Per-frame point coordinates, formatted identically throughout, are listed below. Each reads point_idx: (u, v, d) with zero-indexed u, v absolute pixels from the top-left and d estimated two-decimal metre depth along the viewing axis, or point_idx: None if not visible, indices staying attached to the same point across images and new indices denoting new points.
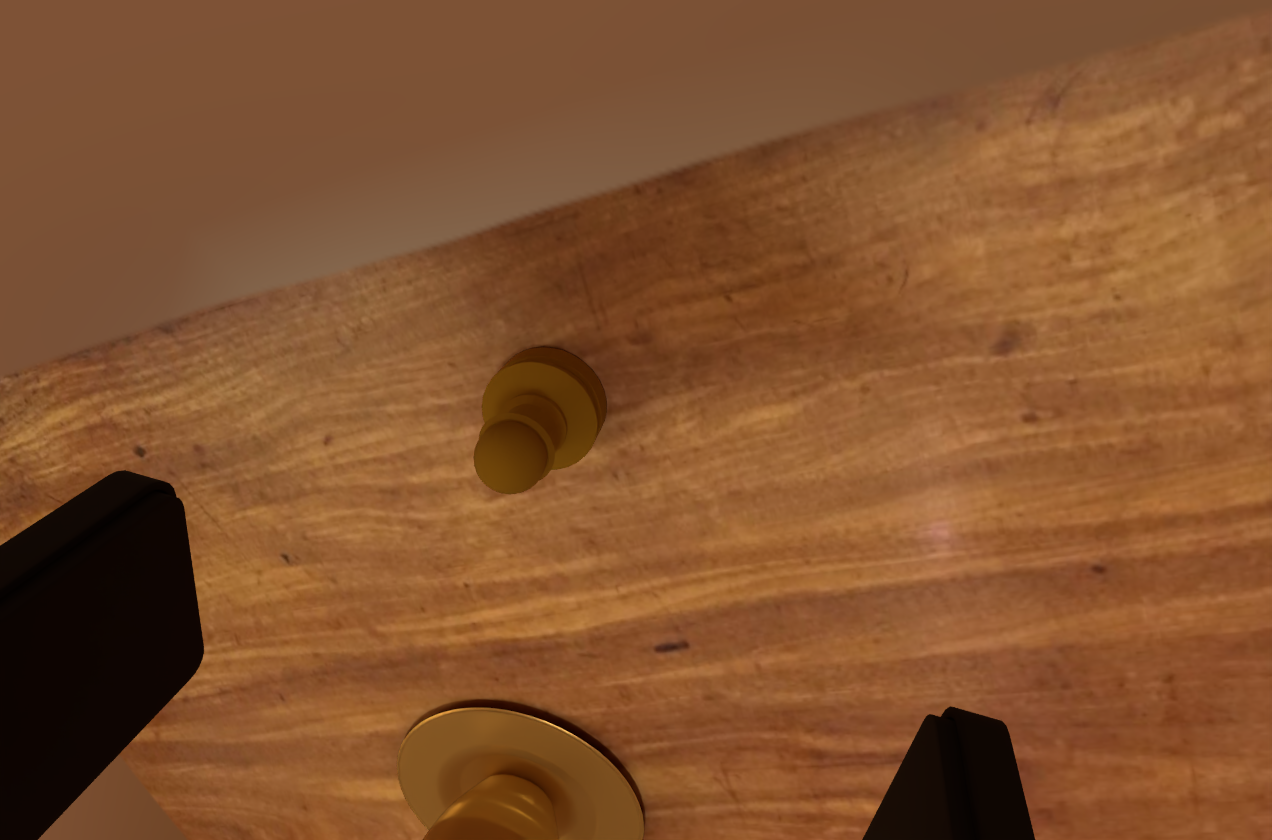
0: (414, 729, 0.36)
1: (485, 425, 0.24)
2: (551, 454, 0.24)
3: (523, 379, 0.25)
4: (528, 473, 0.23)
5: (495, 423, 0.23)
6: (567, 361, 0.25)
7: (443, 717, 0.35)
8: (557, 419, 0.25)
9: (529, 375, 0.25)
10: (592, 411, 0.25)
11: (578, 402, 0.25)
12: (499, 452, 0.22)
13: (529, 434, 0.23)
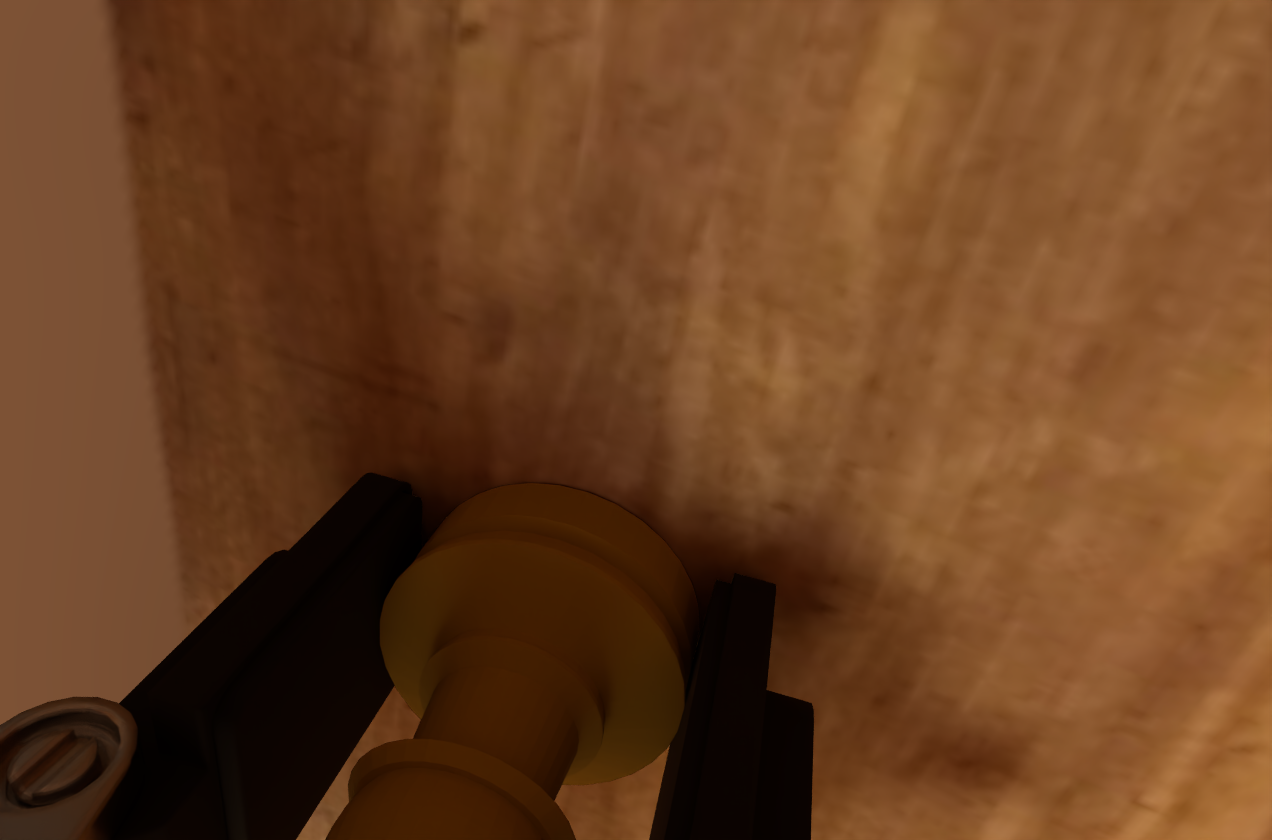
0: None
1: None
2: (501, 780, 0.07)
3: (407, 643, 0.10)
4: None
5: None
6: (453, 522, 0.10)
7: None
8: (505, 657, 0.09)
9: (405, 625, 0.10)
10: (559, 565, 0.09)
11: (515, 577, 0.09)
12: None
13: (378, 798, 0.07)
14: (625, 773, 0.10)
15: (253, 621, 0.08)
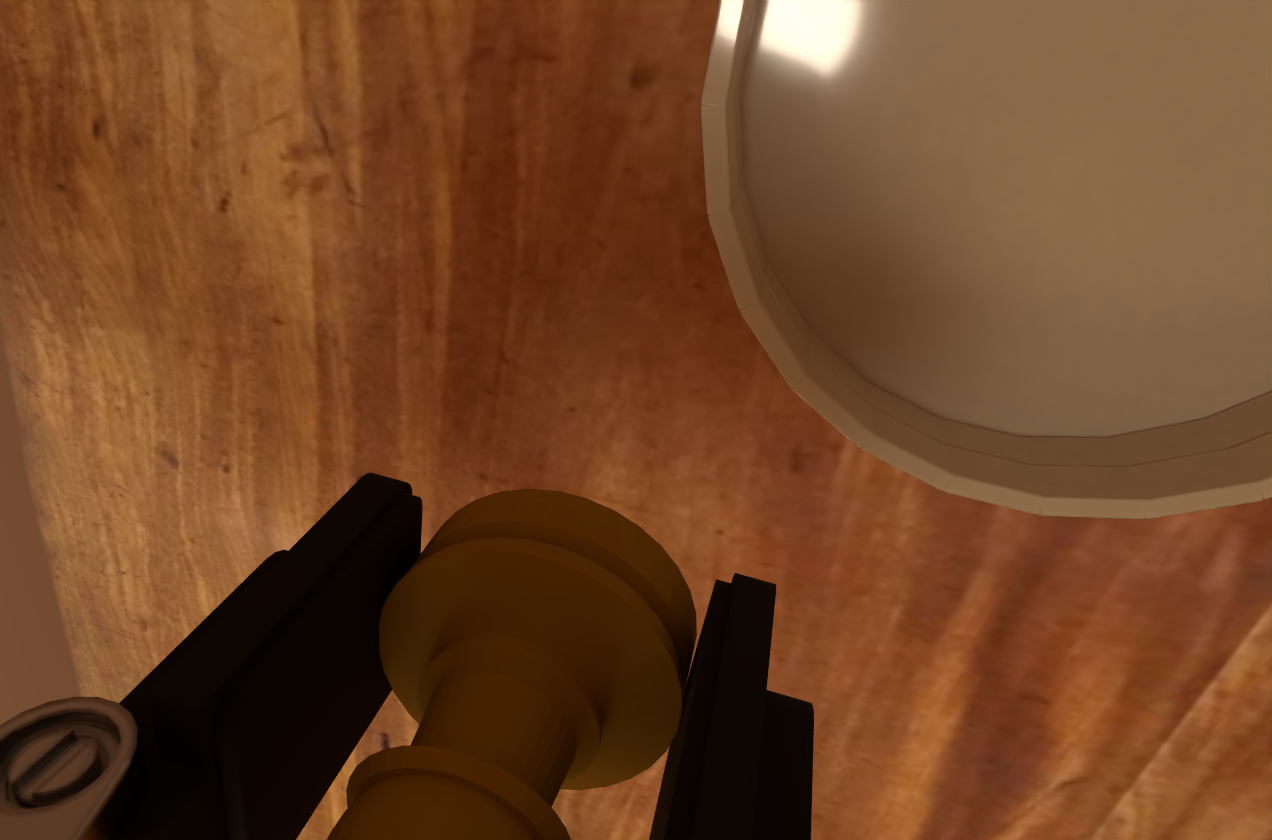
0: None
1: None
2: (497, 787, 0.07)
3: (405, 648, 0.10)
4: None
5: None
6: (451, 528, 0.10)
7: None
8: (503, 663, 0.09)
9: (403, 631, 0.10)
10: (556, 571, 0.09)
11: (512, 584, 0.09)
12: None
13: (376, 805, 0.07)
14: (623, 778, 0.10)
15: (253, 621, 0.08)
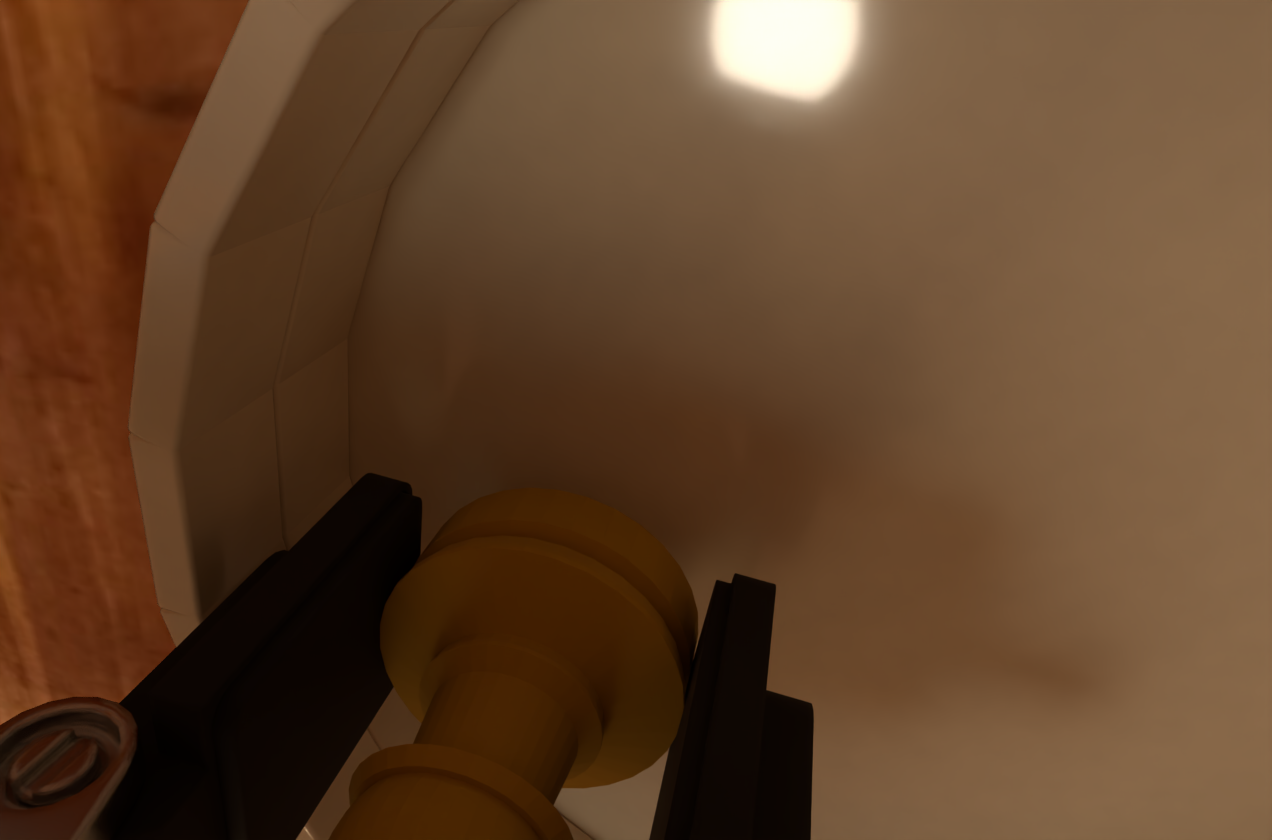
0: None
1: None
2: (500, 785, 0.07)
3: (407, 647, 0.10)
4: None
5: None
6: (453, 526, 0.10)
7: None
8: (505, 662, 0.09)
9: (405, 629, 0.10)
10: (558, 569, 0.09)
11: (514, 582, 0.09)
12: None
13: (379, 803, 0.07)
14: (625, 777, 0.10)
15: (253, 621, 0.08)
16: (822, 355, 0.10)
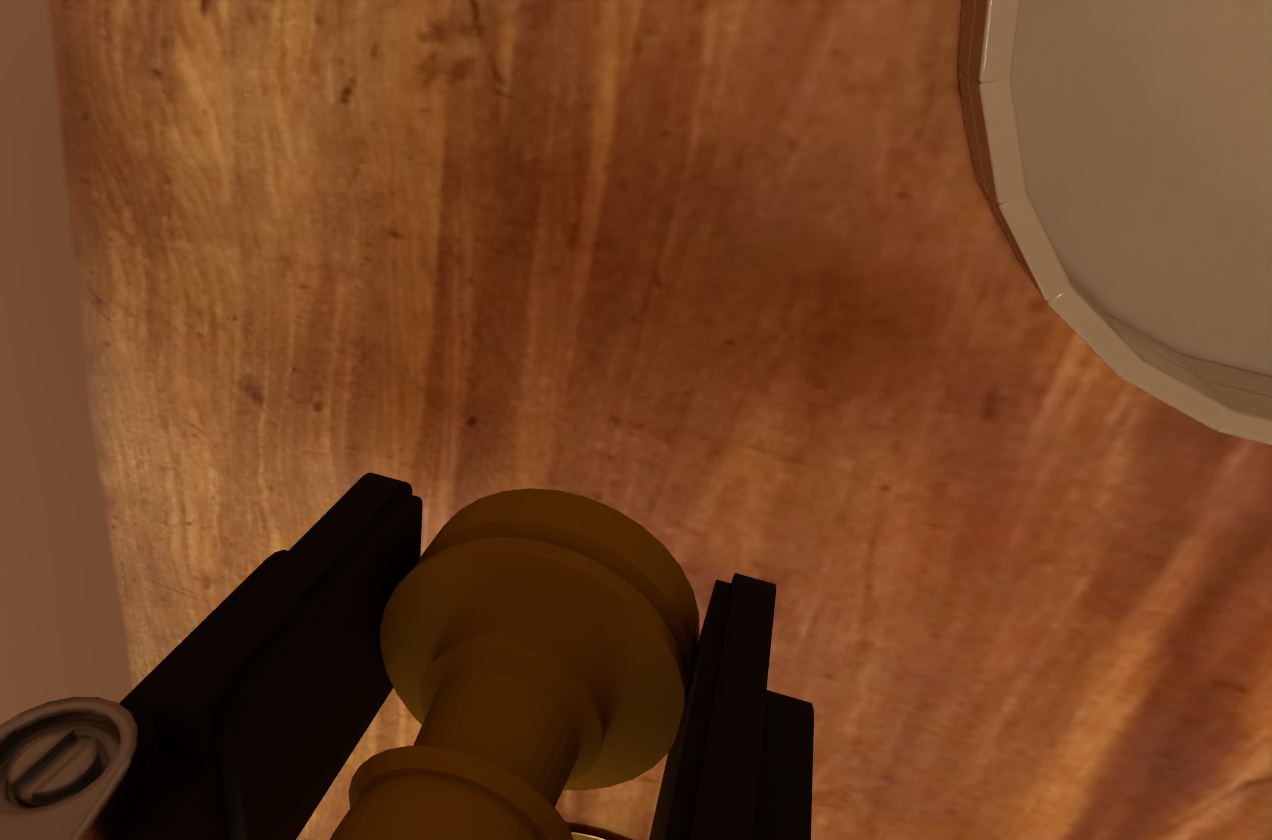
0: None
1: None
2: (501, 787, 0.07)
3: (408, 648, 0.10)
4: None
5: None
6: (454, 528, 0.10)
7: None
8: (506, 663, 0.09)
9: (405, 631, 0.10)
10: (560, 570, 0.09)
11: (515, 584, 0.09)
12: None
13: (379, 805, 0.07)
14: (625, 778, 0.10)
15: (253, 621, 0.08)
16: None
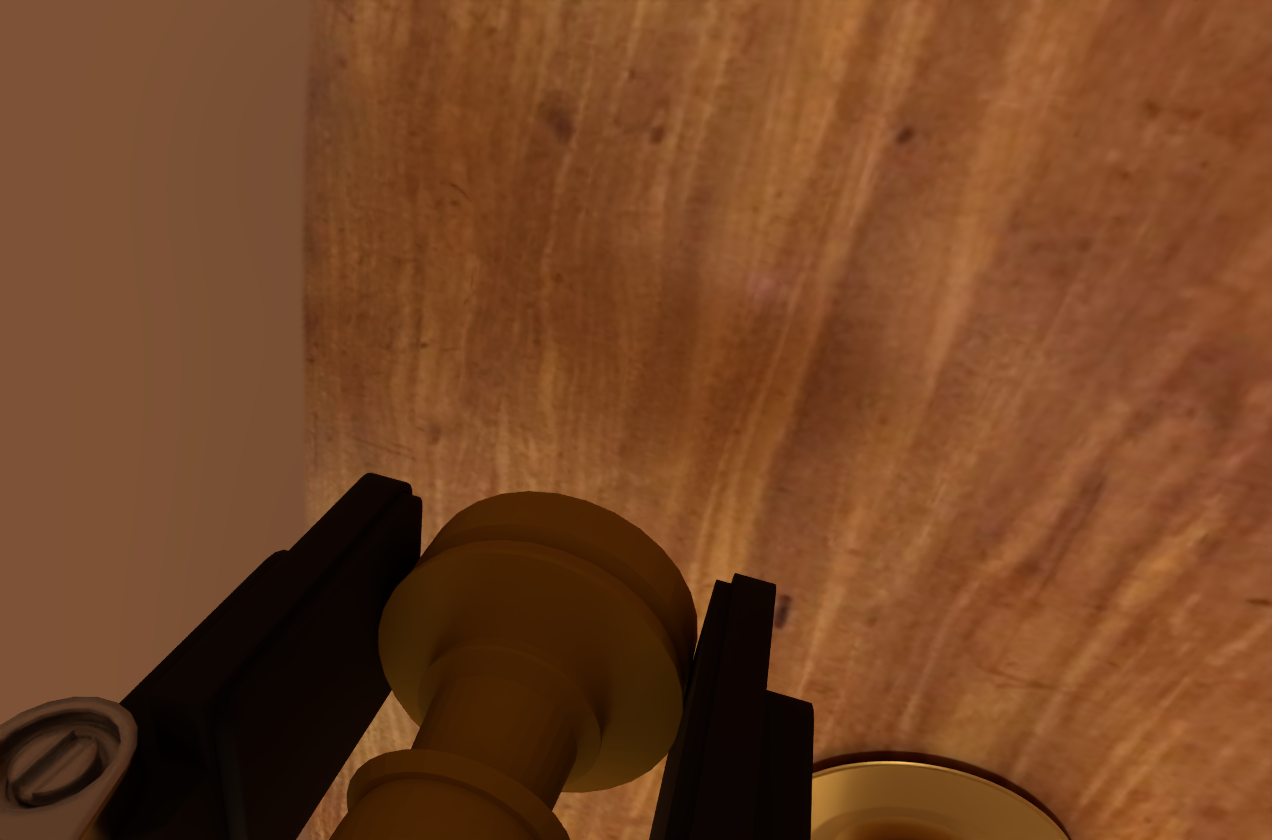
0: None
1: None
2: (498, 790, 0.07)
3: (406, 652, 0.10)
4: None
5: None
6: (451, 530, 0.10)
7: None
8: (504, 666, 0.09)
9: (403, 633, 0.10)
10: (558, 573, 0.09)
11: (513, 587, 0.09)
12: None
13: (376, 809, 0.07)
14: (623, 781, 0.10)
15: (253, 621, 0.08)
16: None
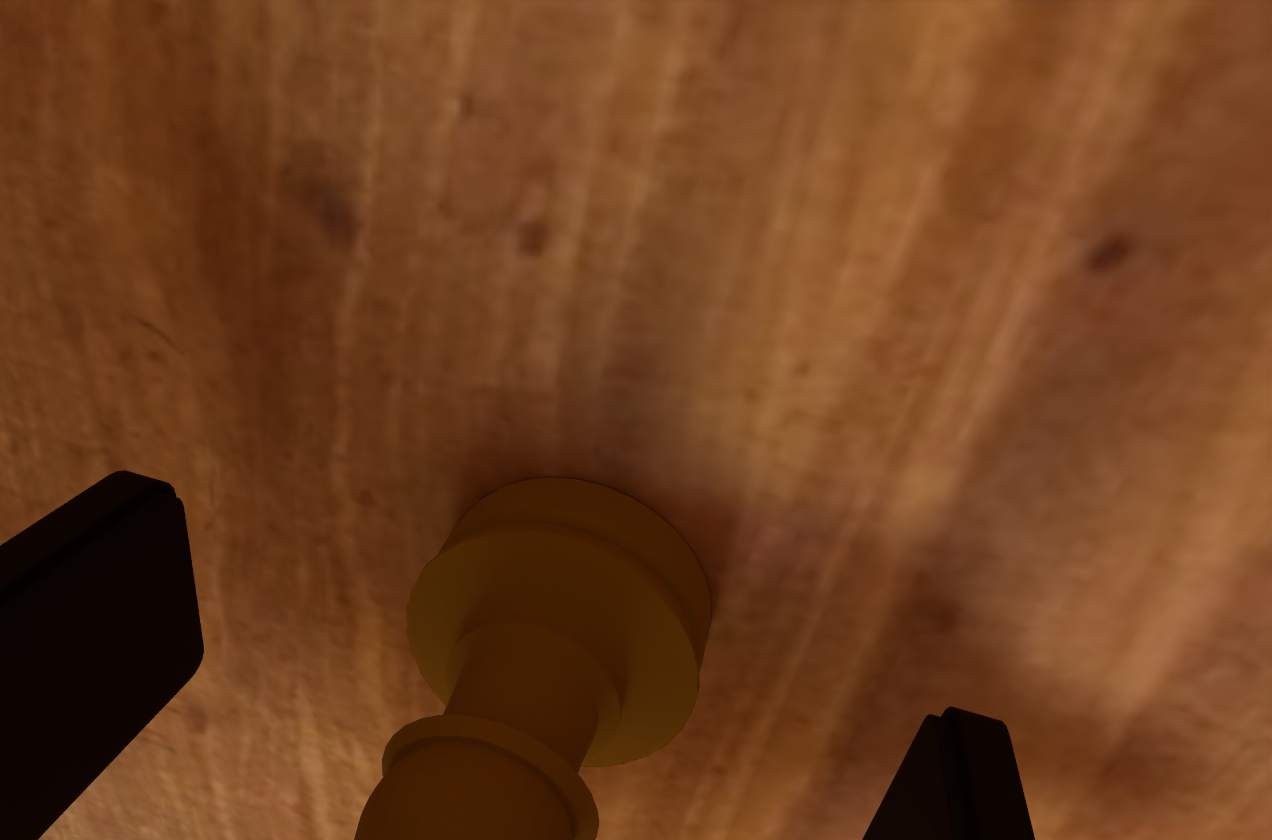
0: None
1: None
2: (528, 752, 0.08)
3: (434, 629, 0.10)
4: None
5: None
6: (477, 514, 0.10)
7: None
8: (529, 640, 0.09)
9: (432, 612, 0.10)
10: (581, 554, 0.09)
11: (538, 566, 0.09)
12: None
13: (414, 769, 0.08)
14: (640, 755, 0.11)
15: None
16: None
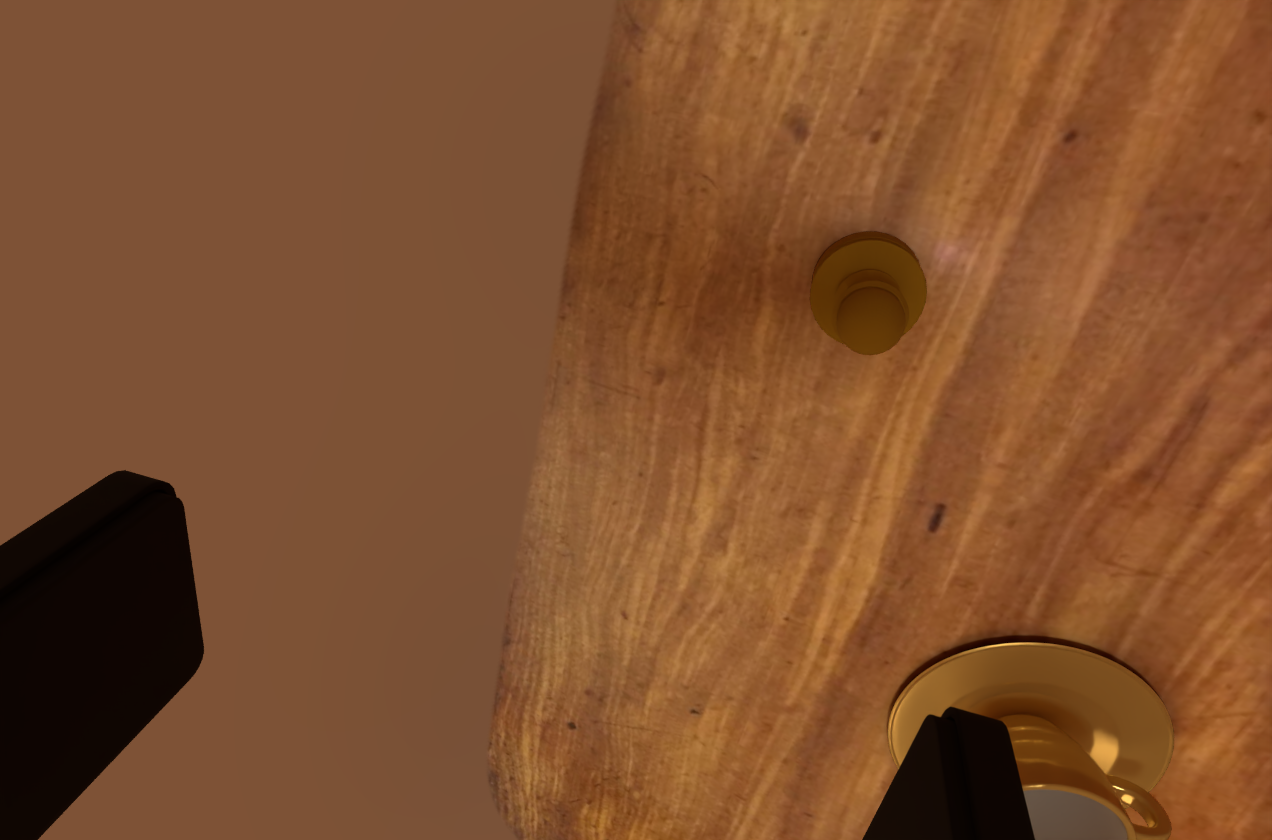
0: (892, 753, 0.38)
1: (834, 326, 0.26)
2: (892, 289, 0.25)
3: (827, 283, 0.28)
4: (888, 309, 0.24)
5: (837, 316, 0.26)
6: (839, 243, 0.28)
7: (893, 725, 0.38)
8: (874, 274, 0.27)
9: (827, 276, 0.28)
10: (890, 246, 0.27)
11: (874, 251, 0.27)
12: (854, 319, 0.25)
13: (861, 291, 0.25)
14: None
15: None
16: None
